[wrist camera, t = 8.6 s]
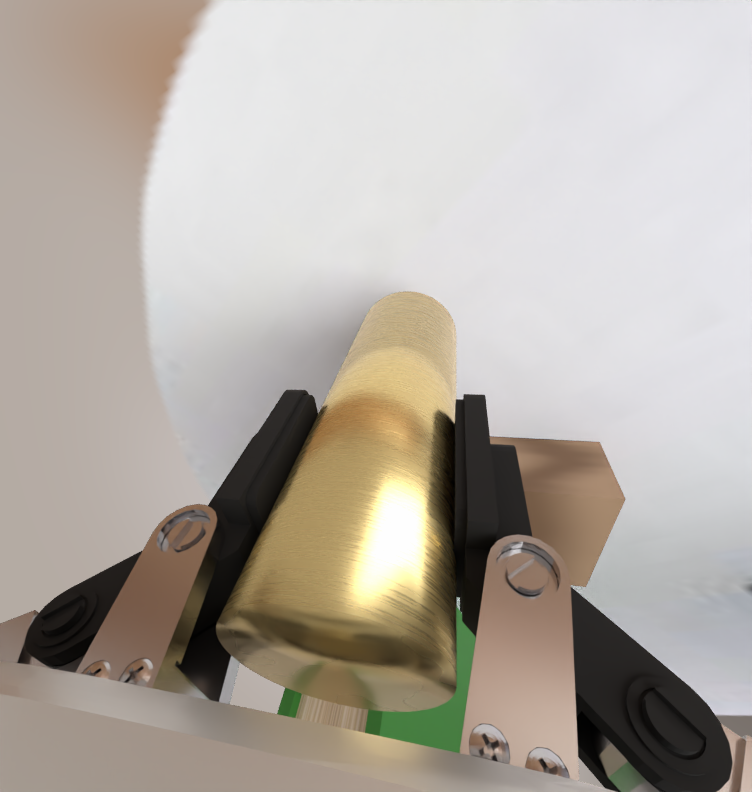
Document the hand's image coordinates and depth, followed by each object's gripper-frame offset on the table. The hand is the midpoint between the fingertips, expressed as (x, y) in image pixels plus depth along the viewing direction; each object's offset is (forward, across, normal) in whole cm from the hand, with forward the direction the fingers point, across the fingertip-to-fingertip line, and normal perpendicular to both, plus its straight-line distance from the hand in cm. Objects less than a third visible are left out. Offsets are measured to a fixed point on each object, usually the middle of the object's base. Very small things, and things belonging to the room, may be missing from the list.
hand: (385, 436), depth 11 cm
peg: (+6, 0, 0) cm, 6 cm away
